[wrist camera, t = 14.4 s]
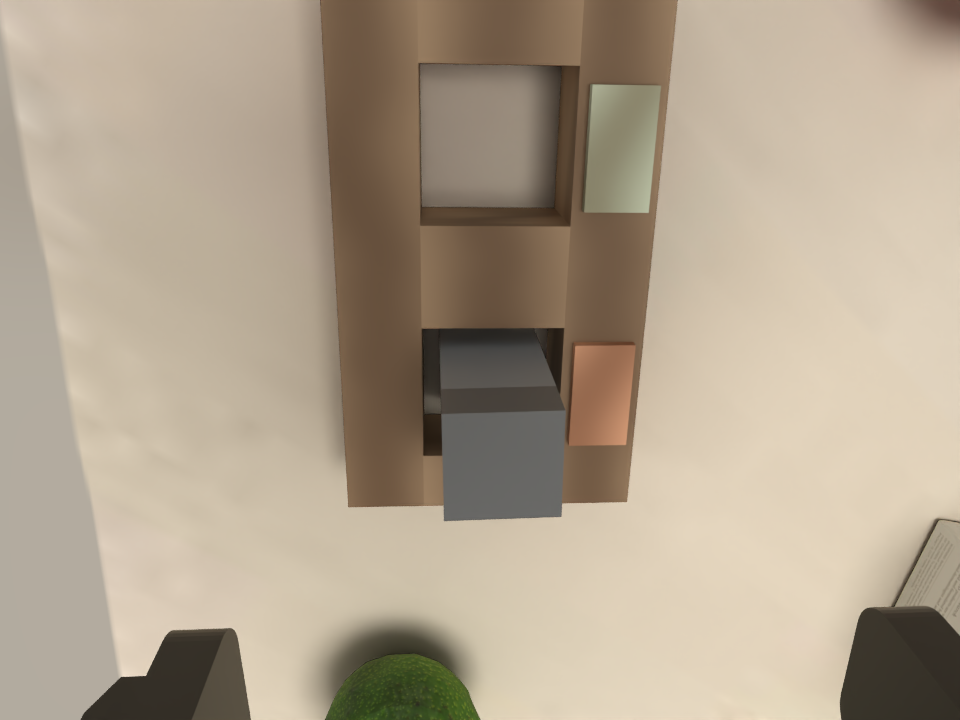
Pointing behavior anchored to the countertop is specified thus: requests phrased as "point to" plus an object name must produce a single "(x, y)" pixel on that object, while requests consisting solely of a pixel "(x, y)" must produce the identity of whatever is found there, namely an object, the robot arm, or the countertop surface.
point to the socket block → (493, 227)
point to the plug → (499, 426)
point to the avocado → (402, 692)
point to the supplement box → (937, 575)
